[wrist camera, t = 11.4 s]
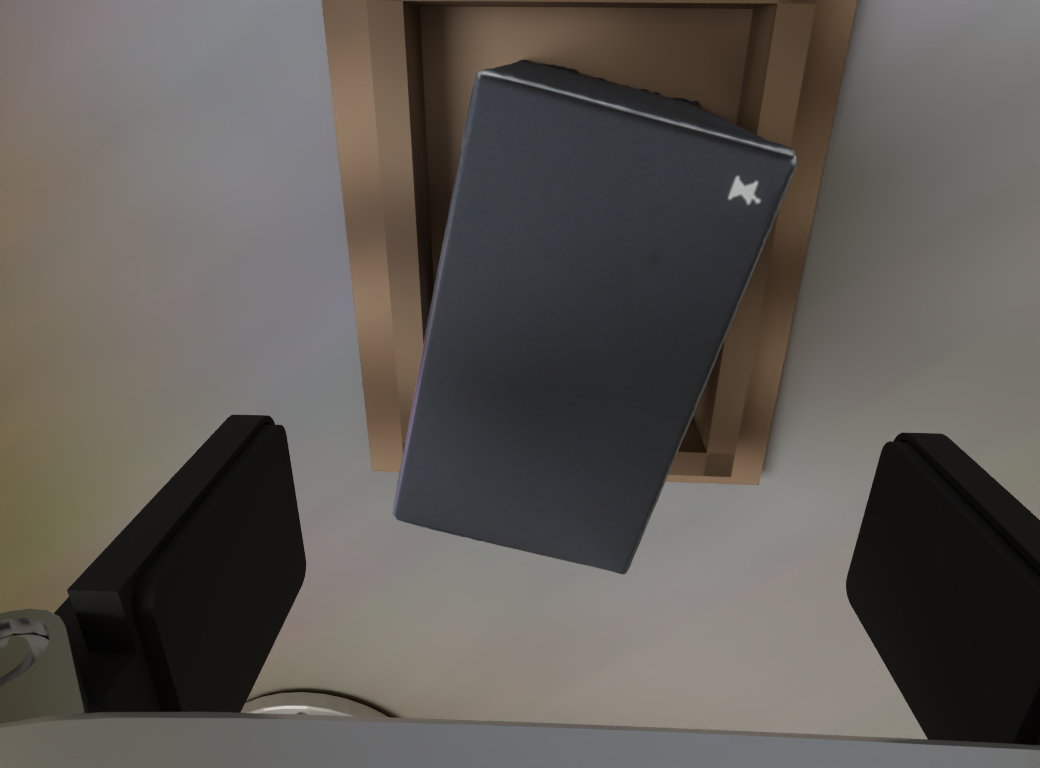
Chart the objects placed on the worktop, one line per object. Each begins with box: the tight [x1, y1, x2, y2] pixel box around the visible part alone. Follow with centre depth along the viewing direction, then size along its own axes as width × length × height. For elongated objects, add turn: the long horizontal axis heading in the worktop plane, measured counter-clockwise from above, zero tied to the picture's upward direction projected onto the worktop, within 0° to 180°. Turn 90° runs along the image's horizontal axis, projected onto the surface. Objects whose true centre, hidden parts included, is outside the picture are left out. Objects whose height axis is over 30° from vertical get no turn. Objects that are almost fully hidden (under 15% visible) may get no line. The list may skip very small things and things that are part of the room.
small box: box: [393, 60, 798, 574], centre depth 19 cm, size 11×6×10 cm, turn 167°
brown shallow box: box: [322, 0, 857, 485], centre depth 23 cm, size 20×16×4 cm
